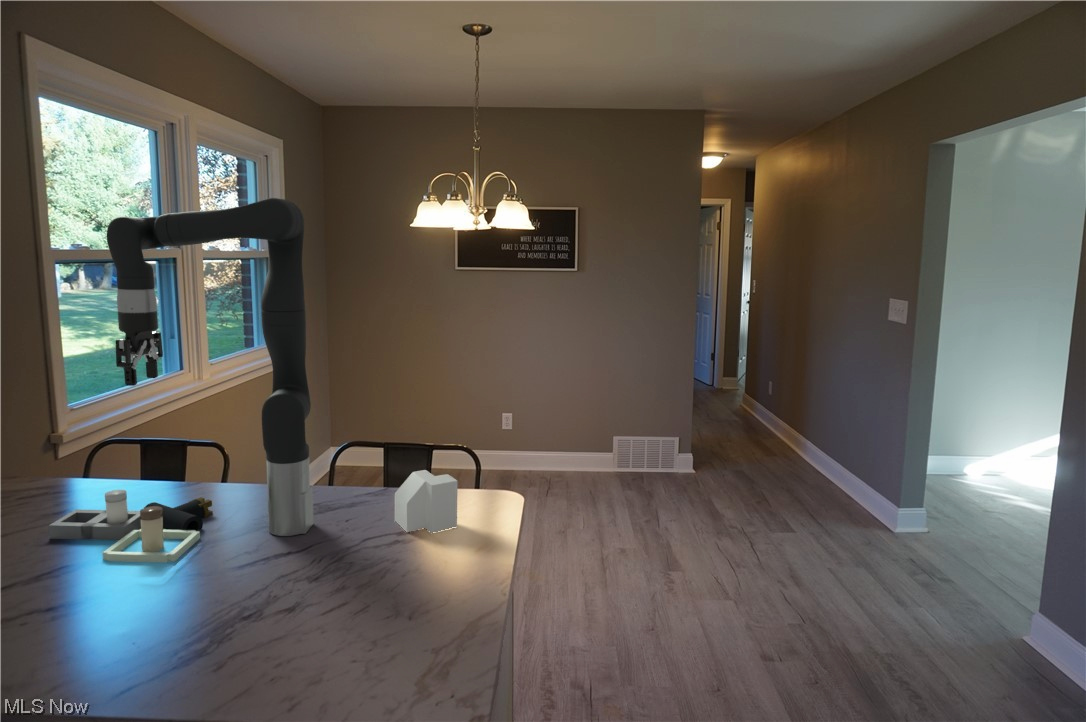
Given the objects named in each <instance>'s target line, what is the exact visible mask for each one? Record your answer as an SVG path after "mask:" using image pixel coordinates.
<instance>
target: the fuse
mask: <svg viewBox="0 0 1086 722" xmlns="http://www.w3.org/2000/svg"><path fill="white" fill-rule="evenodd" d="M127 494H128V493H127V490H126V489H113V490H109V491H107V492H105V493H104V501H105V510H106V515H107V523H111V524H123V523H125V522H126V521H128V511H129V510H128V497H127Z"/></svg>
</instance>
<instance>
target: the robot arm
mask: <svg viewBox="0 0 1086 722" xmlns="http://www.w3.org/2000/svg"><path fill="white" fill-rule="evenodd" d="M304 235H305V217H304V215H303V212H302V210H301V209H300V207H299V206H298V205H297V204H296V203H295V202H293V201H291V200H288V199H285V198H284V199H283V198H278V197H268V198H266V199H262V200H259V201H255V202H251V203H248V204H247V203H246V204H245V205H240V206H235V207H229V208H223V209H214V210H213V209H212V210H211V209H210V210H194V211H192V210H191V211H180V212H171V213H170V212H169V213H165V214H161V215H159V216H149V217H147V216H146V217H143V216H142V217H135V216H134V217H133V216H118V217H115V218H113V219H112V220H111V221H110V222H109V224H108V225H107V229H106V242H107V246H108V249H109V253H110V255H111V258H112V262H113V264H114V266H115V270H116V286H117V287H116V288H117V295H116V304H117V305H116V306H117V307H116V309H117V320H118V321H117V322H118V324H117V325H118V330H119V331H120V332H122V333H124V334H125V336H124V339H122V338H119V339H118V338H116V340H115V359H116V360H115V361H116V362H115V364H116V367H118V368H121V369H123V373H124V384H125V385H126V386H127V387H128V386H129V387H130V386H131V387H132V386H134V387H135V386H136V385H138V378H137V377H138V376H137V364H138V361H140V360H141V359H142V356H143V357H144V359H145V361H146V362H145V370H146V371H145V373H146V375H145V376H146V378H148V379H156V378H158V377H159V374H158V372H159V371H158V362H159V361H160V358H163V356H164V352H163V342H162V341H163V340H162V332H161V331H157V330H158V329H159V321H158V320H159V319H158V302H157V296H156V291H155V290H156V289H155V278H154V277H155V276H154V275H155V274H154V268H153V266H152V264H150V263H149V262H147V261H145V258H144V253H143V251H144V250H145V251H146V250H152V249H158V248H163V247H164V248H165V247H181V246H194V245H199V244H200V245H201V244H202V245H203V244H207V243H211V242H216V241H223V240H229V239H254V240H265V241H266V240H267V241H266V242H267V250H268V267H267V274H266V278H265V281H264V285H263V290H262V295H261V301H260V313H261V328H262V335H263V339H264V342H265V345H266V349H267V352H268V354H269V357H270V362H271V365H272V389H271V390H272V391H271V395H269V396H268V397H267V398H266V400H265V401H264V403H262V404H263V405H262V408H261V430H262V431H261V432H262V434H261V435H262V445H263V448H264V451H265V455H266V457H265V458H266V460H265V461H266V485H267V488H266V489H267V490H266V491H267V513H268V514H267V515H268V517H267V518H268V520H267V523H268V532H269V533H270V534H271V535H274V536H278V537H291V536H292V537H293V536H296V535H304V534H307V532H309V530H310V529H311V528H312V526H313V525H314V522H315V521H314V489H313V487H314V486H313V485H311V483H310V480H311V479H310V447H309V444H308V443H307V439H306V438H307V437H306V419H307V418H308V416H309V414H310V412H311V406H312V405H311V404H312V403H311V402H312V401H311V396H310V389H309V384H308V378H307V370H306V353H307V352H306V351H307V350H306V349H307V334H306V333H307V320H306V319H307V318H306V316H307V315H306V303H305V286H304V283H305V282H304V273H303V251H304ZM122 359H123V360H122Z"/></svg>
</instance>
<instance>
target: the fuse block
mask: <svg viewBox="0 0 1086 722" xmlns="http://www.w3.org/2000/svg"><path fill="white" fill-rule="evenodd" d="M140 529H141V519H140V510H128V521H126V522H125V523H123V524H111V523H107V515H106V509H83V508H82V509H78V508H76V509H74V510H72V511H71V512H68V513H67V514H65V515H64V516H62V517H60V518H58V519H57V520H56V521H54V522H52V523H51V524H48V530H49V531H48V532H49V539H50V540H51V539H52V540H53V539H54V540H56V539H57V540H93V541H95V540H96V541H97V540H98V541H119V540H120V539H122V538H123V537H125V536H126V535H127V534H129V533H130V532H131V531H133V530H140Z"/></svg>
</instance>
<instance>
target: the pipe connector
mask: <svg viewBox="0 0 1086 722" xmlns="http://www.w3.org/2000/svg"><path fill="white" fill-rule="evenodd" d="M152 506H159V507H162V512H163V516H162V518H163V529H165V530H196V531H198V532H199V531H200V530H202V529H203V526H204V525H203V524H204V523H203V519H204V518H208V517H209V516H212V515H213V512H214V511H213V510H210V509H209V508H210V507H212V506H213V501H212V499H205V498H204V497H203V496H202V497H197V498H195V499H192V500H189V501H188V502H185V503H183V504H180V505H178V506H175V507H170V506H167V505H164V504H161V503H158V502H150V503H147V504H146V505H145V506H144V507H143V508H146V507H152Z"/></svg>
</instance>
